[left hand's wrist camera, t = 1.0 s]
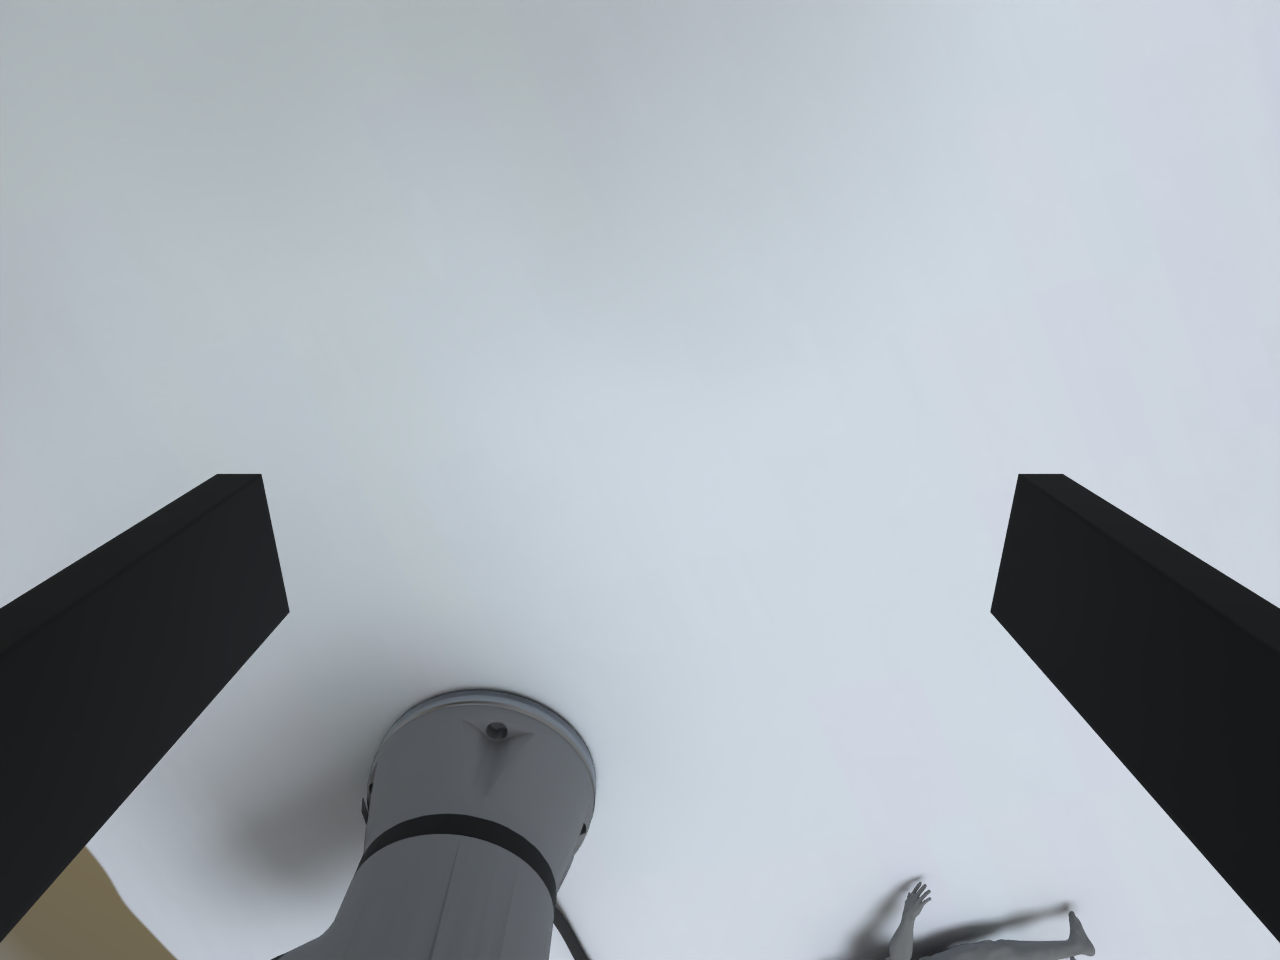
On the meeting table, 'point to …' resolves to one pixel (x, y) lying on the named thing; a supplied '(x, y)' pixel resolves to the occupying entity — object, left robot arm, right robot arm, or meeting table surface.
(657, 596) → the meeting table surface
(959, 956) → the figurine
